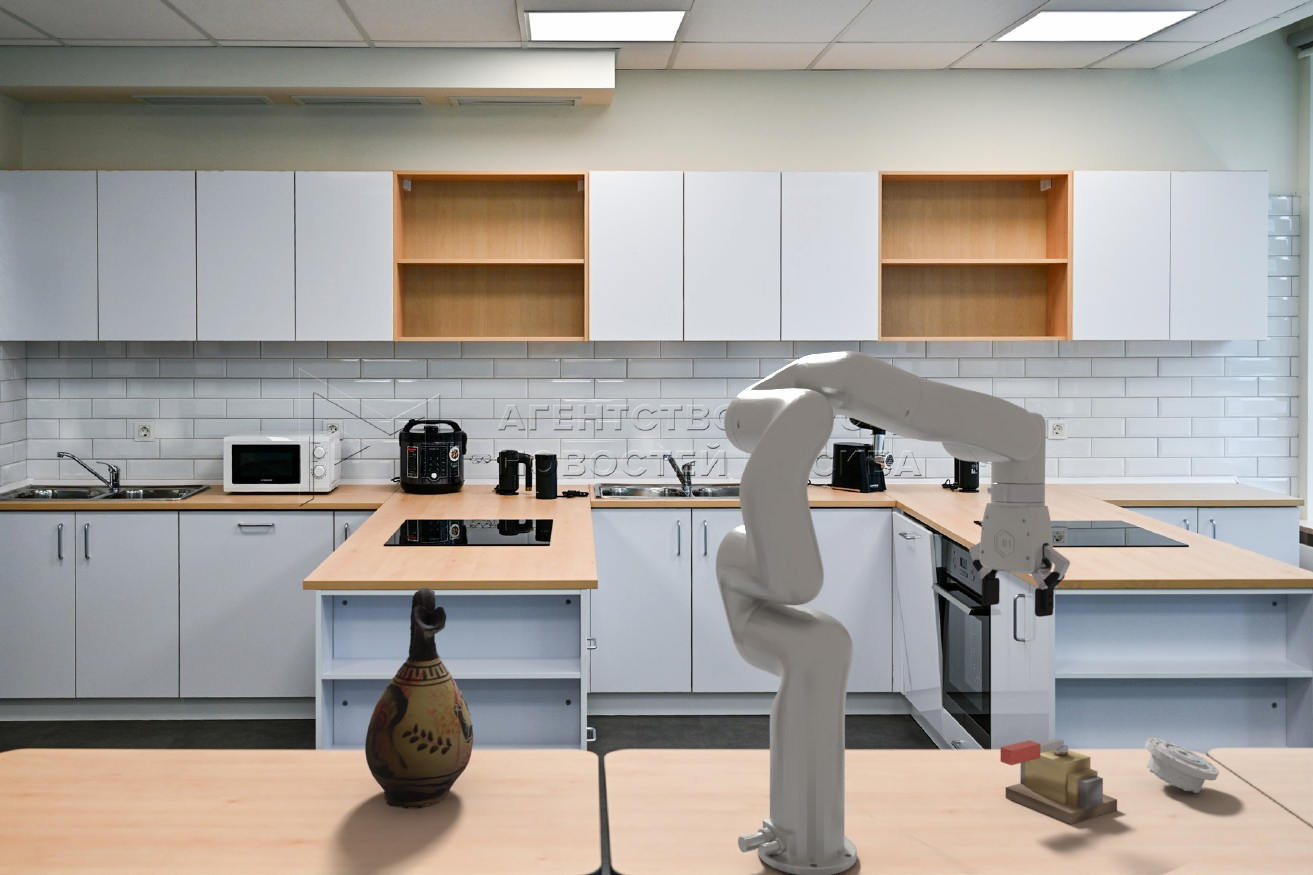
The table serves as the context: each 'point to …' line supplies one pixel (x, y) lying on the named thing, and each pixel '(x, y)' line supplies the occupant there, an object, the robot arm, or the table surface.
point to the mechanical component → (1179, 765)
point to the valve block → (1062, 787)
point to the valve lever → (1031, 750)
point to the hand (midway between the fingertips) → (1016, 609)
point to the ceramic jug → (420, 720)
